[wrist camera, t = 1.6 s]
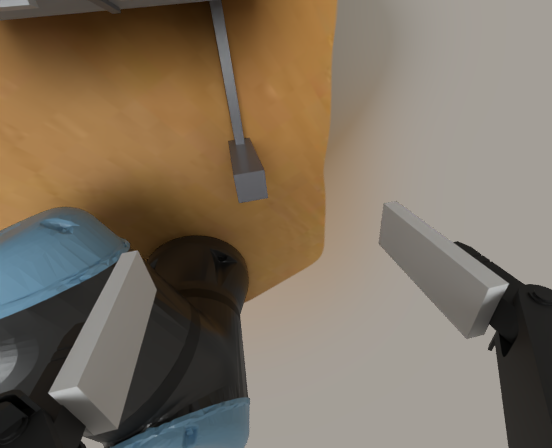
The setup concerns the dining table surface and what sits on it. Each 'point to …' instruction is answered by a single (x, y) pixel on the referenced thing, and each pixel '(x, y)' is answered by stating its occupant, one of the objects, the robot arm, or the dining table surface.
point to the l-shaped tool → (237, 123)
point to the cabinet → (73, 6)
